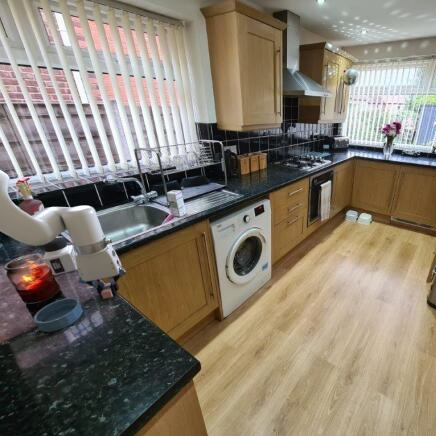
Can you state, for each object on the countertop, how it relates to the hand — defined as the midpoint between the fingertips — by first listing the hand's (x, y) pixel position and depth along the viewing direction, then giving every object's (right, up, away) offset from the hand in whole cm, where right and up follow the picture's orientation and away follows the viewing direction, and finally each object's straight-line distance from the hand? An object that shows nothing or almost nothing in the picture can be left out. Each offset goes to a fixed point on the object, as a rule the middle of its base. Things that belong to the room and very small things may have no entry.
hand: (109, 293), depth 82 cm
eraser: (0, 0, 0) cm, 0 cm away
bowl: (-6, -5, -10) cm, 13 cm away
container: (-28, +5, +14) cm, 31 cm away
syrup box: (-6, +27, +64) cm, 70 cm away
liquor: (-56, +14, +35) cm, 68 cm away
